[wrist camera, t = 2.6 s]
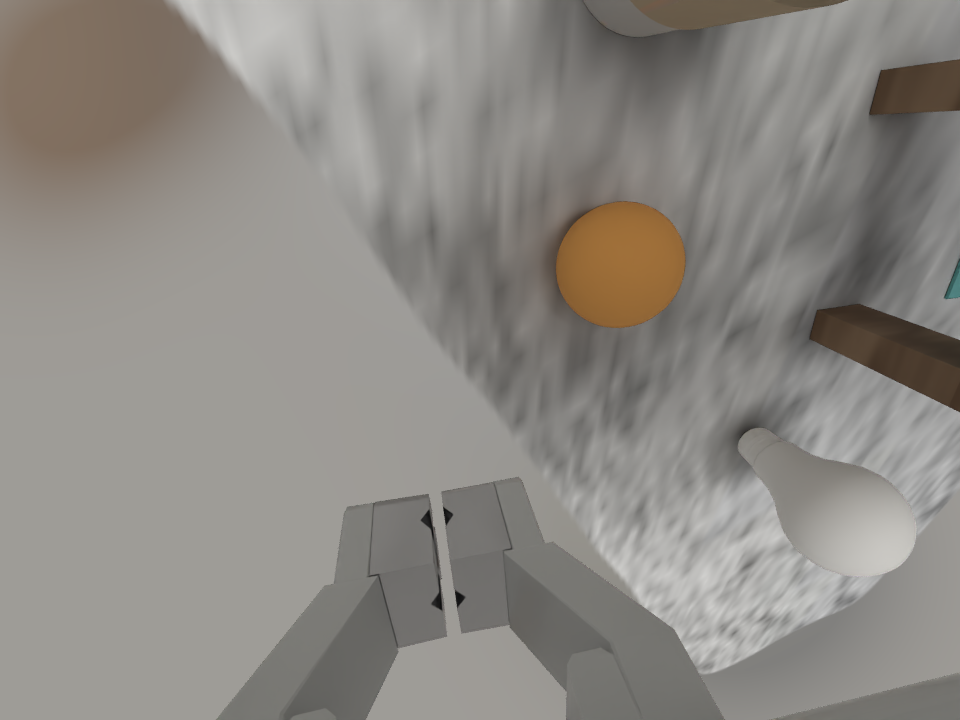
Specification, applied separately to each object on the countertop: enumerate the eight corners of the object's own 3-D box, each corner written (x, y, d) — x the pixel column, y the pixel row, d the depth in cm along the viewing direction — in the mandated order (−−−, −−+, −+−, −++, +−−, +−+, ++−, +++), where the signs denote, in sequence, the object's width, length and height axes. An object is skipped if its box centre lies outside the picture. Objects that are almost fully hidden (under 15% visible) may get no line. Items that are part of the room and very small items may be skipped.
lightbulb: (771, 465, 35) (918, 594, 25) (698, 473, 34) (820, 609, 24) (797, 396, 32) (973, 510, 22) (718, 402, 31) (866, 523, 21)
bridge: (933, 65, 23) (1242, 24, 15) (850, 332, 30) (1030, 410, 22) (881, 70, 23) (1167, 30, 15) (809, 338, 30) (976, 420, 21)
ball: (651, 188, 24) (723, 203, 19) (642, 297, 27) (703, 337, 21) (540, 201, 23) (582, 220, 18) (542, 311, 26) (580, 356, 21)
